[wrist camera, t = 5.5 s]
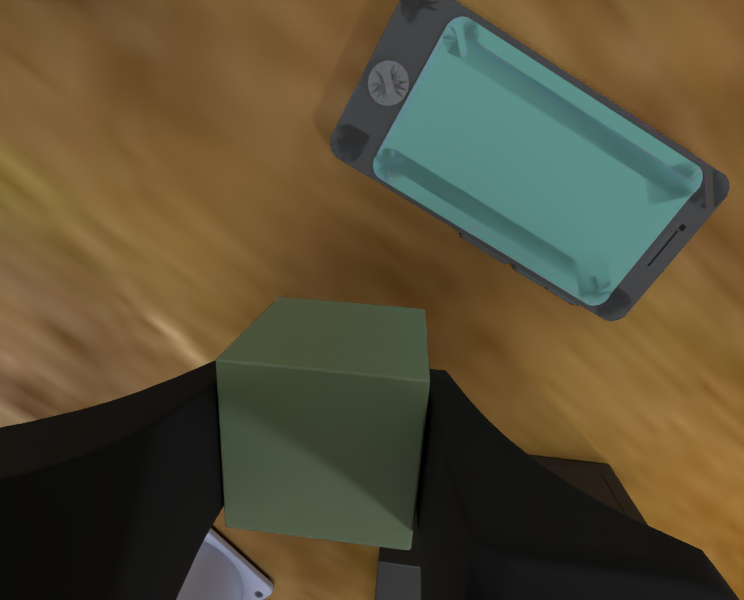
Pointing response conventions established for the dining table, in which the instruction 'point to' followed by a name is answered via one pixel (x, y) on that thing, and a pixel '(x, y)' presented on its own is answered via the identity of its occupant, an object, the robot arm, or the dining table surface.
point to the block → (325, 421)
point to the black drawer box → (402, 567)
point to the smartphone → (523, 158)
